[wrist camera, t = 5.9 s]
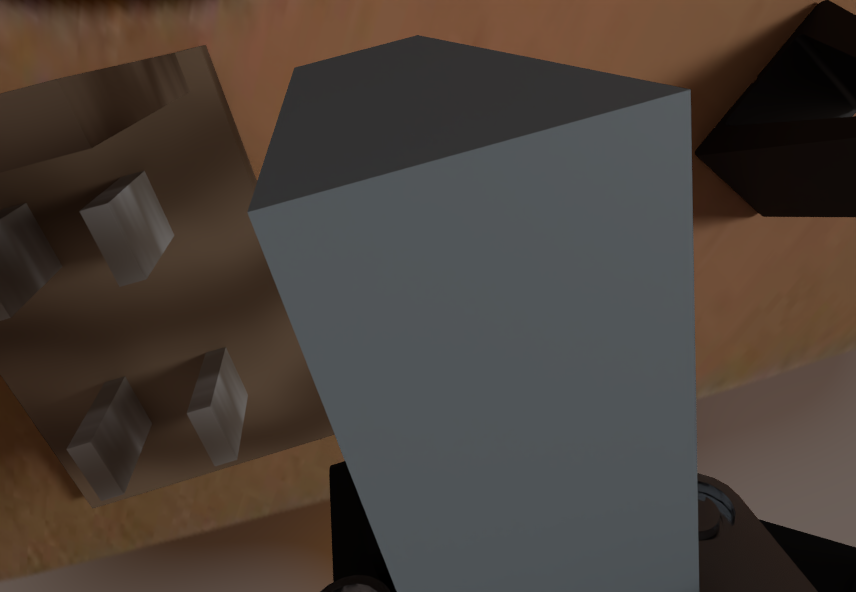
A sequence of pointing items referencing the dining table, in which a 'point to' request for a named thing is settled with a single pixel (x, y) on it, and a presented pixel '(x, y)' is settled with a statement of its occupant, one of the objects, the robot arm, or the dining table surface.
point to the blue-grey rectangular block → (496, 311)
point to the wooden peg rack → (142, 281)
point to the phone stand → (796, 125)
